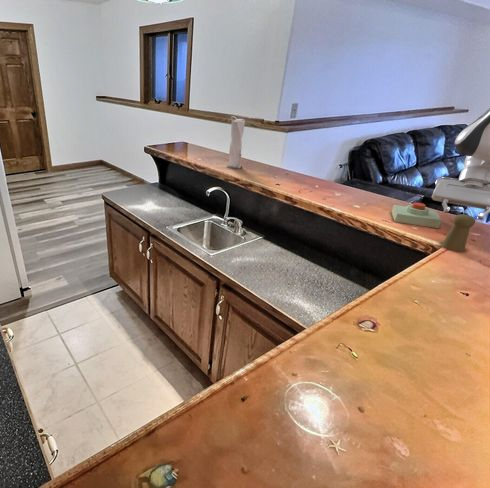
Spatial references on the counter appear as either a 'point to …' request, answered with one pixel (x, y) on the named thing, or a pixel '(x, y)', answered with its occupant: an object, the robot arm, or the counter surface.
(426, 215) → the button base
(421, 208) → the release button
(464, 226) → the cork
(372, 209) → the counter surface
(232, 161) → the skyscraper
